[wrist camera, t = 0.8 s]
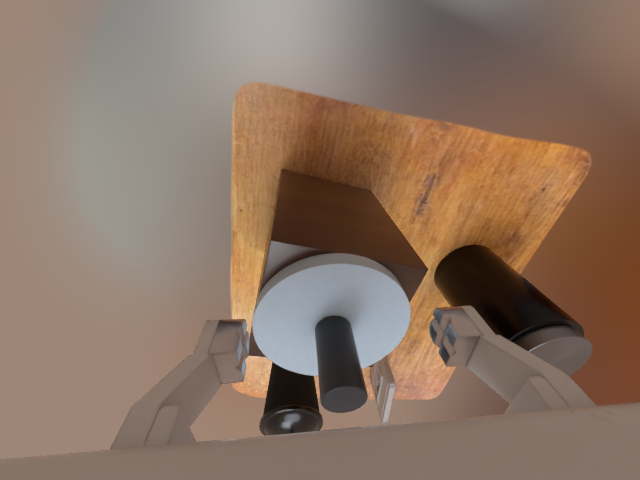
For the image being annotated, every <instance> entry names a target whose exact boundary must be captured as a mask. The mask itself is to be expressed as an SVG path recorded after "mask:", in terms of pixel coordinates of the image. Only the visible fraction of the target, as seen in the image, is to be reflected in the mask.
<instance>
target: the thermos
mask: <svg viewBox="0 0 640 480" xmlns="http://www.w3.org/2000/svg"><path fill="white" fill-rule="evenodd" d="M435 284H436V286H437V287H438V289H439V290H440V292H441V293H442V294H443V296H444V297H445V299H446V300H447V301H448V303H449V304H450V306H451V307H455V306H458V307H459V306H472V307H473V308H474V309H475V310H476V311H477V312H478V314H479V315H480V316H481V317H482V319H483V320H484V321H485V322H486V323H487V325H488V326H489V327H490V328H491V330H492V331H493V332H494V333H495V334H496V335H501V336H502V337H504V338H506V339H507V340H509V341H511V342H513V343H514V344H516V345H518V346H520V347H521V348H523V349H525V350H527V351H528V352H530V353H532V354H534V355H535V356H537V357H539V358H541V359H542V360H544V361H546V362H547V363H549V364H551V365H553V366H554V367H556V368H558V369H560V370H561V371H563V372H565V373H566V374H567V375H568V376H569V375H571V374H572V373H574V372H575V371H577V370H578V369H579V368H580V367H581V366H583V365H584V364H585V363H586V361H587V360H588V359H589V357H590V355H591V353H592V345H591V343H590V342H589V341H588V340H587V339H586V338H585V337H584V330H583V328H582V326H581V325H580V324H578V323H577V322H576V321H575V320H574V319H572V318H571V317H570V316H569V315H568V314H567V313H565V312H564V311H563V310H561V309H560V308H559V307H558V306H557V305H556V304H555V303H553V302H552V301H551V300H550V299H549V298H547V297H546V296H545V295H544V294H543V293H541V292H540V291H539V290H538V289H537V288H535V287H534V286H533V285H532V284H531V283H529V282H528V281H527V280H526V279H525V278H523V277H522V276H521V275H520V274H519V273H517V272H516V271H515V270H514V269H513V268H511V267H510V266H509V265H508V264H507V263H505V262H504V261H503V260H502V259H501V258H499V257H498V256H497V255H496V254H495V253H493V252H492V251H491V250H490V249H488V248H487V247H484V246H480V245H469V246H465V247H462V248H459V249H457V250H455V251H453V252H451V253H450V254H449V255H447V256H446V257H445V258H444V259H443V260H442V261H441V262H440V264H439V265H438V267H437V269H436V272H435Z"/></svg>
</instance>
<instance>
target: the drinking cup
mask: <svg viewBox="0 0 640 480" xmlns="http://www.w3.org/2000/svg"><path fill="white" fill-rule="evenodd" d="M322 425H323V419H322V415H321V414H320V413H319V406H318V400H317V394H316V388H315V381H314V376H311V375H304V374H299V373H295V372H292V371H289V370H287V369H284V368H282V367H280V366H278V365H277V364H275V363H272V368H271V374H270V380H269V385H268V391H267V397H266V403H265V408H264V415H263V417H262V418H261V420H260V426H259V427H260V431H261V433H262V434H263V435H264V436H268V435H279V434H290V433H301V432H313V431H320V429H321V428H322Z"/></svg>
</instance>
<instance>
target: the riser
mask: <svg viewBox="0 0 640 480" xmlns="http://www.w3.org/2000/svg"><path fill="white" fill-rule="evenodd" d="M330 253H346V254H353V255H358V256H362V257H366V258H368V259H371V260H374V261H376V262H378V263H379V264H381V265H383V266H384V267H386V268H387V269H388V270H389V271H391V272H392V274H393V275H394V276H395V277H396V278H397V280H398V281H399V283H400V284H401V286H402V288H403V290H404V292H405V294H406V296H407V298H408V300H409V303H410V301H411V299H412V297H413V296H414V294H415V292H416V290H417V289H418V287H419V285H420V283H421V282H422V280H423V278H424V276H425V275H426V273H427V271H428V268H427V267H426V266H425V264H424V263H423V261H422V260H421V259H420V257H419V256H418V255H417V253H416V252H415V251H414V249H413V248H412V246H411V245H410V244H409V242H408V241H407V240H406V238H405V237H404V235H403V234H402V233H401V231H400V230H399V229H398V227H397V226H396V225H395V223H394V222H393V220H392V219H391V218H390V216H389V215H388V214H387V212H386V211H385V209H384V208H383V207H382V205H381V204H380V203H379V201H378V200H377V199H376V197H375V196H374V194H373V193H372V192H371V191H369V190H365V189H361V188H357V187H353V186H348V185H344V184H340V183H336V182H332V181H328V180H324V179H320V178H316V177H311V176H307V175H303V174H299V173H295V172H291V171H287V170H283V169H282V170H281V174H280V179H279V184H278V189H277V194H276V199H275V204H274V209H273V214H272V219H271V224H270V229H269V234H268V239H267V244H266V249H265V255H264V260H263V266H262V272H261V277H260V283H259V288H258V294H257V298H258V296H259V294H260V292H261V291H262V289H263V288H264V286H265V285H266V283H267V282H268V281H269V280H270V279H271V278H272V277H273V276H274V275H276V274H277V273H278V272H279V271H281V270H282V269H284V268H285V267H287V266H289V265H291V264H293V263H295V262H297V261H299V260H302V259H305V258H308V257H311V256H316V255H321V254H330ZM256 302H257V300H256ZM252 324H253V322H252ZM248 355H250V356H261V357H266V356H265V355H264V354H263V353H262V351H261V350H260V349H259V347H258V345H257V343H256V341H255V338H254V335H253V328H251V333H250V339H249V353H248ZM374 364H375V363H374ZM374 364H372V365H370V366H368V367H373V365H374Z"/></svg>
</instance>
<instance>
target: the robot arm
mask: <svg viewBox="0 0 640 480" xmlns="http://www.w3.org/2000/svg"><path fill="white" fill-rule="evenodd" d="M433 315H434V317H435V318H434V319H433V320H432V321H431V322H430V326H429V330H430V336H431V339H432V341H433V343H434V344H435V345H437V346H438V347H440V350H439V354H440V355H441V357H442V359H443V361H444V363H445V365H446V366H447V367H448V366H466V367H467V368H468V369H470V370H471V371H472V372H473V373H474V374H475V375H477V376H478V377H479V378H480V379H481V380H483V381H484V382H485V383H486V384H487V385H488V386H490V387H491V388H492V389H493V390H494V391H496V392H497V393H498V394H499V395H500V396H501V397H503V398H504V399H505V400H506V401H507V402H508V403H510V406H509V407H508V409H507V410H506V412H505V414H500V415H489V416H478V417H468V418H456V419H445V420H434V421H423V422H412V423H400V424H389V425H379V426H368V427H356V428H345V429H335V430H324V431H313V432H301V433H290V434H279V435H268V436H257V437H246V438H236V439H225V440H214V441H203V442H196V440H195V438H194V436H193V434H192V432H191V430H190V428H189V427H190V426H191V425H192V423H193V422H194V421H195V419H196V418H197V417H198V415H199V414H200V413H201V412H202V410H203V409H204V407H205V406H206V405H207V404H208V402H209V401H210V400H211V398H212V397H213V396H214V395H215V393H216V392H217V390H218V389H219V388H220V387H221V384H226V383H236V382H243V381H244V376H245V370H246V363H245V359H246V358H247V357H248V353H249V334H248V332H247V331H246V327H247V324H246V320H245V319H231V320H209V321H207V322H206V323H205V325H204V328H203V330H202V333H201V335H200V338H199V341H198V343H197V346H196V349H195V351H194V354H193V355H190V356H188V357H187V358H186V359H185V360H184V361H182V362H181V363H180V364H179V365H178V366H177V367H176V368H175V369H173V370H172V371H171V372H170V373H169V374H168V375H167V376H166V377H164V378H163V379H162V380H161V381H160V382H159V383H158V384H157V385H156V386H154V387H153V388H152V389H151V390H150V391H149V392H148V393H147V394H146V395H144V396H143V397H142V398H141V399H140V400H139V401H138V402H137V403H135V405H133V406H132V407H131V409H130V411H129V413H128V415H127V417H126V419H125V421H124V423H123V425H122V427H121V429H120V430H119V433H118V435H117V436H116V438H115V440H114V442H113V444H112V446H111V448H110V450H101V451H91V452H79V453H68V454H57V455H46V456H36V457H35V456H34V457H24V458H12V459H0V480H640V402H633V403H622V404H611V405H600V406H596V405H595V403H594V402H593V401H592V400H591V399H590V398H589V397H588V396H587V395H586V394H585V393H584V392H583V391H582V390H581V389H580V388H579V387H578V386H577V385H576V383H575V382H574V381H573V380H572V379H571V378H570V377H569V376H568V375H567V374H566V373H565V372H563V371H561V370H560V369H558V368H556V367H554V366H553V365H551V364H549V363H547V362H546V361H544V360H542V359H541V358H539V357H537V356H535V355H534V354H532V353H530V352H528V351H527V350H525V349H523V348H521V347H520V346H518V345H516V344H514V343H513V342H511V341H509V340H507V339H506V338H504V337H502V336H501V335H496V334H495V333H494V332H493V331H492V330H491V328H490V327H489V326H488V325H487V323H486V322H485V321H484V320H483V319H482V317H481V316H480V315H479V314H478V312H477V311H476V310H475V309H474V308H473V307H472V306H459V307H458V306H455V307H441V308H436V309H435V310H434V312H433Z"/></svg>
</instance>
